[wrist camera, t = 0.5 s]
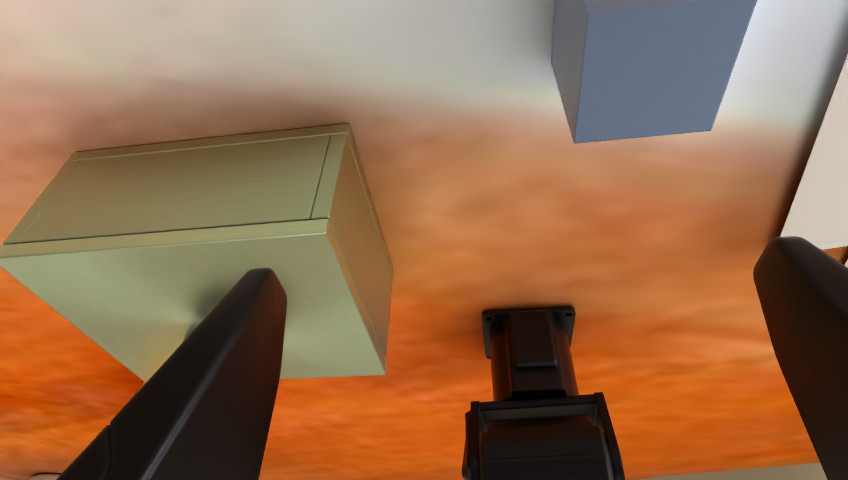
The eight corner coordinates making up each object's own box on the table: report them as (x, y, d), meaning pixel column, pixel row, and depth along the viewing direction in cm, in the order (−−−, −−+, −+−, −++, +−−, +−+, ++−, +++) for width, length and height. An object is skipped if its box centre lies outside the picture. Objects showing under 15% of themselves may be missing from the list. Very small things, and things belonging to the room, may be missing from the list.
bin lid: (387, 362, 28) (381, 440, 25) (152, 372, 30) (121, 446, 27) (328, 217, 20) (308, 311, 17) (0, 244, 21) (-70, 333, 18)
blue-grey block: (663, 50, 21) (711, 131, 17) (550, 63, 21) (573, 144, 17) (691, -74, 17) (760, -7, 14) (557, -55, 18) (587, 14, 14)
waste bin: (393, 270, 32) (386, 358, 28) (185, 284, 34) (149, 369, 30) (348, 122, 24) (328, 216, 20) (73, 151, 26) (1, 243, 21)
